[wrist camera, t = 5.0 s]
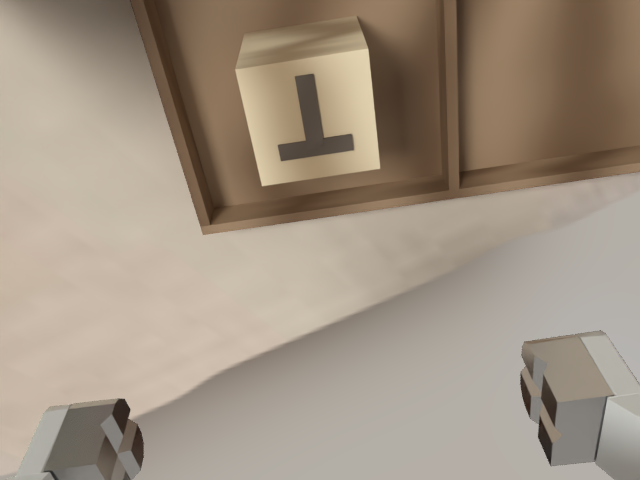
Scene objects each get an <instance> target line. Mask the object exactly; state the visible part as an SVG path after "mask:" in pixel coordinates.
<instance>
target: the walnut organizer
mask: <svg viewBox="0 0 640 480" xmlns="http://www.w3.org/2000/svg"><path fill="white" fill-rule="evenodd" d="M130 1H131V5H132V8H133V11H134V14H135V17H136V21H137V24H138V27H139V30H140V33H141V37H142V40H143V43H144V46H145V50H146V53H147V56H148V59H149V62H150V66H151V69H152V72H153V75H154V78H155V82H156V85H157V88H158V91H159V95H160V98H161V101H162V104H163V107H164V111H165V114H166V117H167V120H168V124H169V127H170V130H171V133H172V136H173V140H174V143H175V146H176V149H177V152H178V156H179V159H180V162H181V165H182V169H183V172H184V175H185V178H186V181H187V185H188V188H189V191H190V194H191V198H192V201H193V204H194V207H195V210H196V214H197V217H198V220H199V223H200V226H201V230H202V233H203V235H206V234H213V233H220V232H227V231H234V230H241V229H247V228H254V227H261V226H268V225H275V224H282V223H289V222H296V221H303V220H310V219H316V218H323V217H330V216H337V215H344V214H351V213H358V212H365V211H372V210H378V209H385V208H392V207H399V206H406V205H413V204H420V203H427V202H434V201H441V200H447V199H454V198H461V197H468V196H475V195H482V194H489V193H496V192H503V191H510V190H516V189H523V188H530V187H537V186H544V185H551V184H558V183H565V182H572V181H578V180H585V179H592V178H599V177H606V176H613V175H620V174H627V173H634V172H640V0H130ZM351 16H357V19H358V22H359V24H360V27H361V30H362V33H363V35H364V38H365V41H366V44H367V46H368V50H369V60H370V70H371V80H372V90H373V100H374V110H375V120H376V130H377V140H378V150H379V160H380V169H375V170H368V171H361V172H355V173H348V174H341V175H334V176H328V177H321V178H314V179H307V180H301V181H294V182H287V183H280V184H274V185H267V186H262V184H261V180H260V175H259V171H258V167H257V162H256V158H255V154H254V149H253V145H252V141H251V136H250V132H249V128H248V123H247V119H246V115H245V110H244V106H243V102H242V97H241V93H240V89H239V84H238V80H237V76H236V71H235V68H236V64H237V60H238V57H239V53H240V49H241V45H242V41H243V37H244V34H246V33H252V32H259V31H265V30H271V29H277V28H283V27H289V26H296V25H302V24H308V23H314V22H320V21H326V20H333V19H339V18H345V17H351Z"/></svg>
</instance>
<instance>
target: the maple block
mask: <svg viewBox="0 0 640 480" xmlns="http://www.w3.org/2000/svg"><path fill="white" fill-rule="evenodd" d="M235 71H236V76H237V80H238V84H239V89H240V93H241V97H242V102H243V106H244V110H245V115H246V119H247V123H248V128H249V132H250V136H251V141H252V145H253V149H254V154H255V158H256V162H257V167H258V171H259V175H260V180H261V184H262V186H267V185H274V184H280V183H287V182H294V181H301V180H307V179H314V178H321V177H328V176H334V175H341V174H348V173H355V172H361V171H368V170H375V169H380V160H379V150H378V140H377V130H376V120H375V110H374V100H373V90H372V80H371V70H370V60H369V50H368V46H367V44H366V41H365V38H364V35H363V33H362V30H361V27H360V24H359V22H358V19H357V16H351V17H345V18H339V19H333V20H326V21H320V22H314V23H308V24H302V25H296V26H289V27H283V28H277V29H271V30H265V31H259V32H252V33H246V34H244V37H243V41H242V45H241V49H240V53H239V57H238V60H237V64H236V68H235Z"/></svg>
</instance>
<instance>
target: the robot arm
mask: <svg viewBox="0 0 640 480" xmlns="http://www.w3.org/2000/svg"><path fill="white" fill-rule="evenodd" d="M522 358H523V360H524V363H525V365H526V366H525V368H524V369H523V370H522V371H521V380H520V381H521V382H520V384H521V391H522V397H523V401H524V404H525V407H526V410H527V412H528V415H529V417H530V419H532V420H533V421H535V422H536V423H537V424H539V430H538V438H539V441H540V443H541V445H542V448H543V450H544V452H545V454H546V457H547V459H548V461H549V464H550V466H557V465H567V464H576V463H586V462H596V465H598V466H599V467H600V468H601V469H602V470H604V471H605V472H606V473H607V474H608V475H610V476H611V477H612V478H613V479H614V480H640V384H639V383H638V381H637V379H636V378H635V376H634V375H633V373H632V372H631V370H630V369H629V368H628V366H627V365H626V363H625V362H624V360H623V359H622V357H621V356H620V354H619V353H618V351H617V350H616V348H615V347H614V345H613V344H612V342H611V341H610V339H609V338H608V336H607V335H606V333H604V332H603V331H601V330H600V331H594V332H587V333H580V334H575V335H566V336H559V337H553V338H546V339H540V340H532V341H526V342H524V344H523V346H522ZM129 414H130V408H129V406H128V404H127V402H126V401H125V399H120V398H118V399H110V400H101V401H92V402H83V403H74V404H69V405H60V406H52V407H49V408H48V409H47V410H46V411H45V412H44V413H43V415H42V418H41V420H40V422H39V424H38V427H37V429H36V431H35V433H34V436H33V438H32V440H31V442H30V445H29V447H28V449H27V451H26V454H25V456H24V458H23V460H22V463H21V465H20V467H19V470H18V472H17V474H16V476H14V477H8V478H7V479H6V480H132V479H133V478H134V477H135V476H136V475H137V474H138V473H139V471H140V470H141V467H142V462H143V458H144V455H143V454H144V442H143V437H142V433H141V431H140V428H139V426H138V424H136V423H135V422H133V421H131V420H130V419H128V417H129Z"/></svg>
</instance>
